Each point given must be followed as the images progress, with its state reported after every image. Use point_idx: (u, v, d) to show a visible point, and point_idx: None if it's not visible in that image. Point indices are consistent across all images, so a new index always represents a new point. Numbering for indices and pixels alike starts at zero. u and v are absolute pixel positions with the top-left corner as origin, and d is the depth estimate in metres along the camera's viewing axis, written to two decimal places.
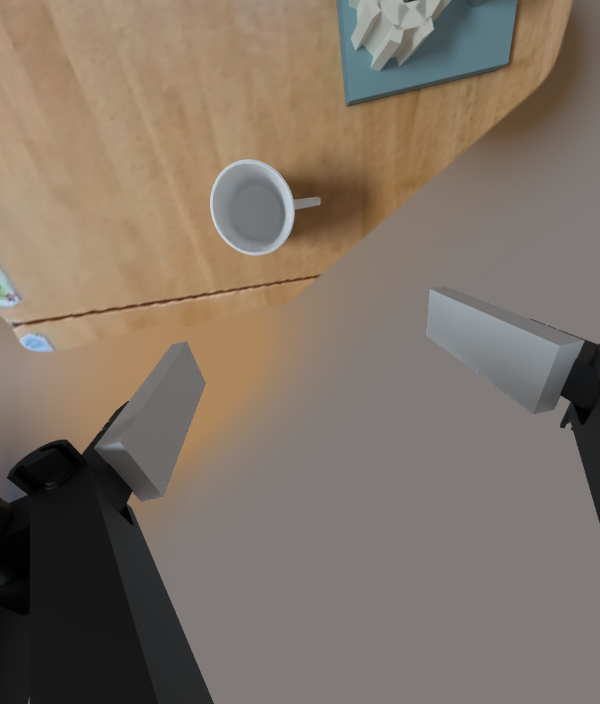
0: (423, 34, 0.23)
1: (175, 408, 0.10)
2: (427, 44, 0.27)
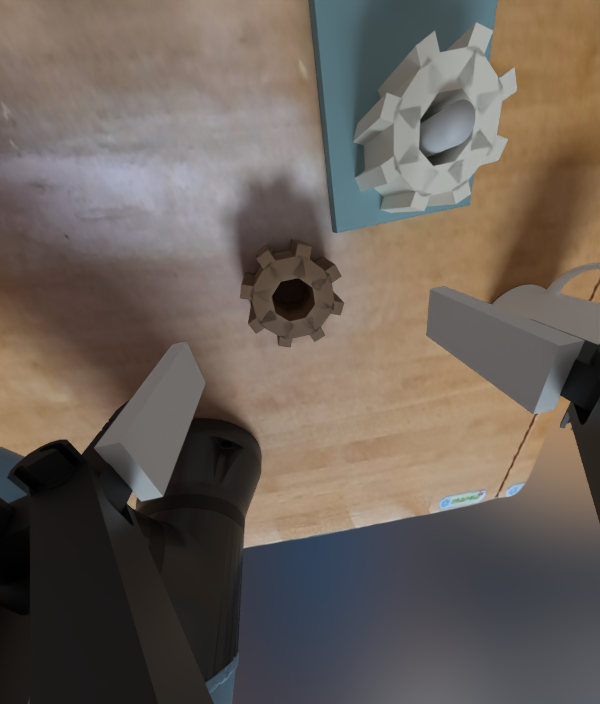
0: (512, 91, 0.14)
1: (175, 408, 0.10)
2: None
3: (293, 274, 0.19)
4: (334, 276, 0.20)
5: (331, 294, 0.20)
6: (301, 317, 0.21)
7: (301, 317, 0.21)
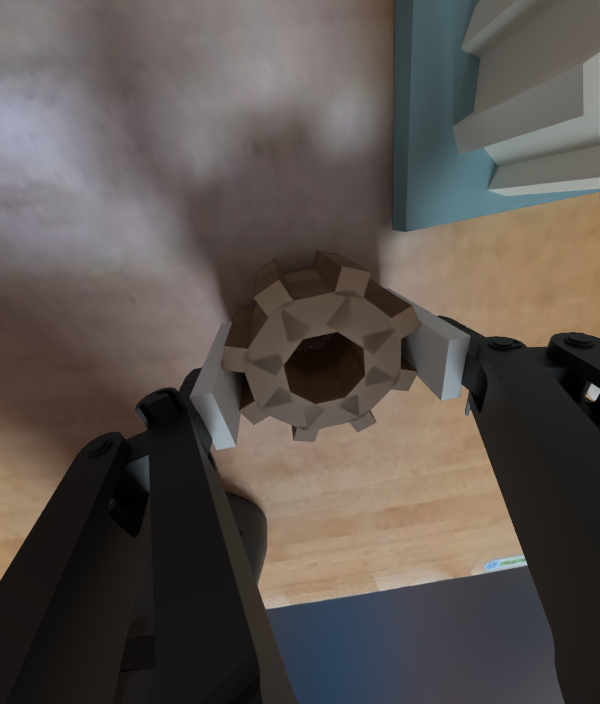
0: None
1: (234, 376, 0.11)
2: None
3: (328, 325, 0.10)
4: (408, 327, 0.10)
5: (397, 358, 0.11)
6: (336, 394, 0.12)
7: (335, 393, 0.12)
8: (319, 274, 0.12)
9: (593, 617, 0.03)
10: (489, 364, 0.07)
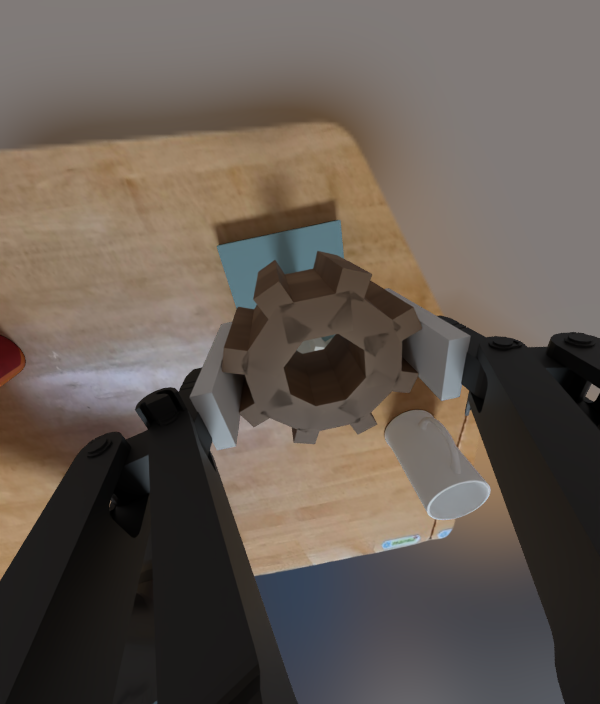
0: None
1: (234, 376, 0.11)
2: None
3: (329, 327, 0.09)
4: (409, 329, 0.10)
5: (398, 360, 0.11)
6: (337, 396, 0.12)
7: (336, 395, 0.12)
8: (319, 275, 0.11)
9: (593, 617, 0.03)
10: (489, 364, 0.07)
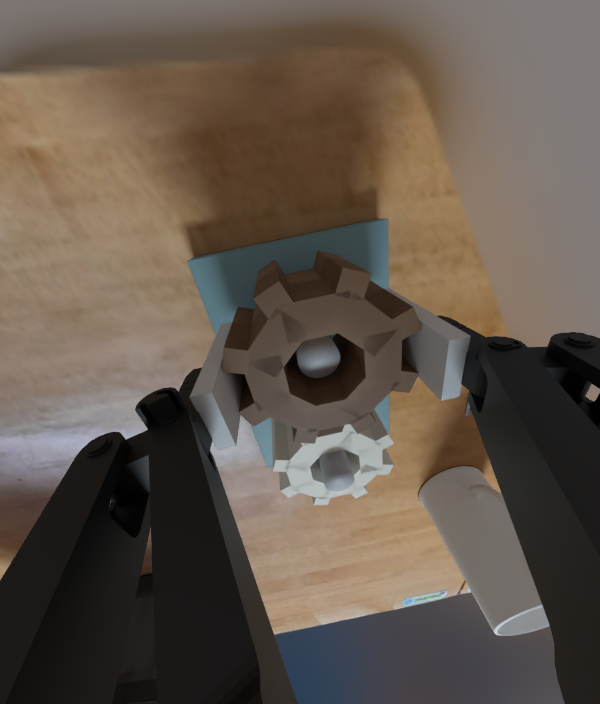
0: (390, 443, 0.16)
1: (234, 376, 0.11)
2: None
3: (328, 327, 0.09)
4: (408, 329, 0.10)
5: (398, 360, 0.11)
6: (337, 396, 0.12)
7: (336, 394, 0.12)
8: (319, 275, 0.11)
9: (593, 616, 0.03)
10: (489, 364, 0.07)
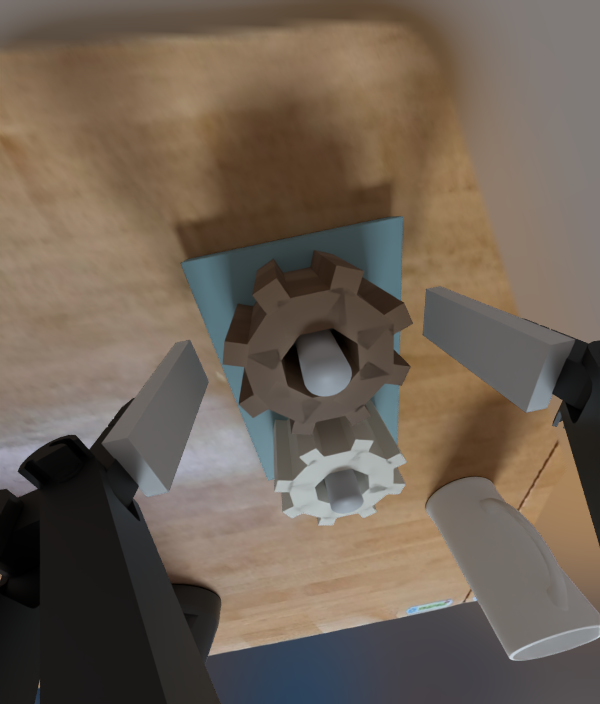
0: (402, 462, 0.15)
1: (179, 405, 0.10)
2: None
3: (324, 322, 0.10)
4: (400, 324, 0.10)
5: (390, 354, 0.11)
6: None
7: None
8: (316, 273, 0.12)
9: None
10: (598, 369, 0.06)
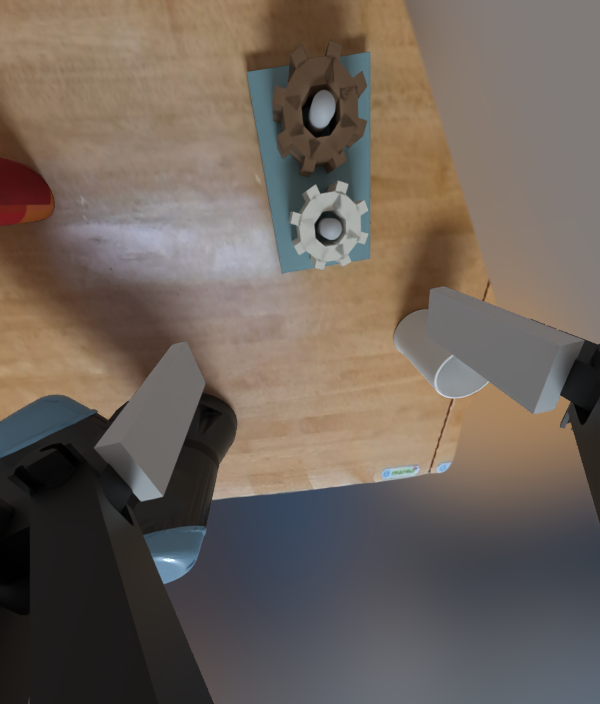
0: (365, 210, 0.26)
1: (175, 408, 0.10)
2: (344, 180, 0.28)
3: (323, 78, 0.21)
4: (360, 85, 0.21)
5: (356, 108, 0.22)
6: None
7: (325, 137, 0.23)
8: None
9: None
10: None
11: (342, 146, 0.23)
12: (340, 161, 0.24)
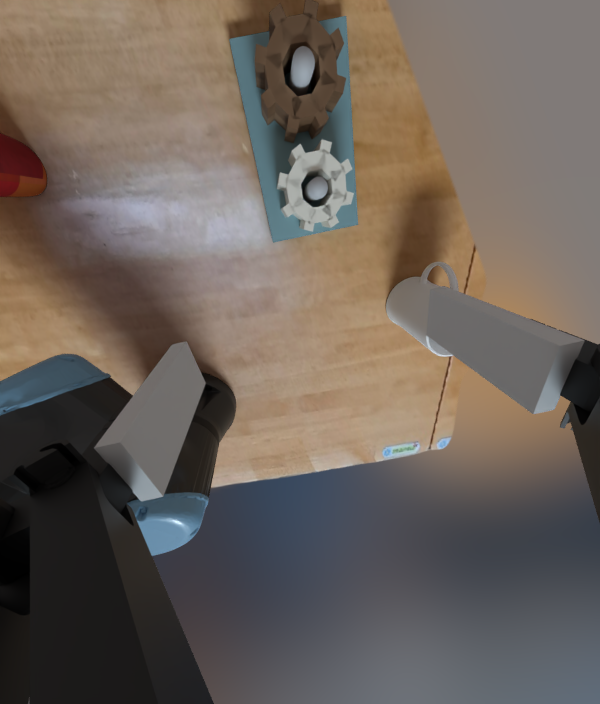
0: (350, 169, 0.27)
1: (175, 408, 0.10)
2: None
3: (301, 36, 0.22)
4: (338, 42, 0.22)
5: (335, 65, 0.23)
6: None
7: (307, 96, 0.24)
8: None
9: None
10: None
11: (323, 104, 0.24)
12: (322, 119, 0.25)
